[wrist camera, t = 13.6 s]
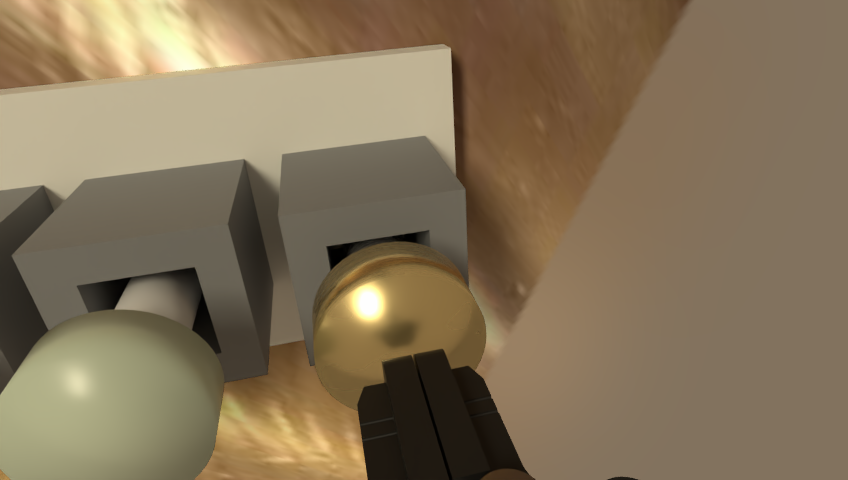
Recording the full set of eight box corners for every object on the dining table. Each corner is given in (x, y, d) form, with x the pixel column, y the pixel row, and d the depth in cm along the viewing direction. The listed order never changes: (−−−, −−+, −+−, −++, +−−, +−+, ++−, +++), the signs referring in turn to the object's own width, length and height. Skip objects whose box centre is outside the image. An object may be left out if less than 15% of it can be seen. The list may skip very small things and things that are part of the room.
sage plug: (85, 213, 18) (-57, 382, 11) (227, 193, 19) (185, 339, 11) (129, 324, 20) (37, 528, 13) (256, 303, 21) (235, 484, 14)
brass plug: (297, 173, 20) (299, 292, 13) (418, 156, 21) (485, 260, 13) (317, 278, 22) (328, 430, 15) (426, 259, 23) (487, 397, 16)
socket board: (-206, 110, 18) (-469, 188, 12) (443, 44, 21) (503, 77, 15) (-35, 385, 23) (-152, 534, 17) (454, 297, 27) (502, 396, 21)
